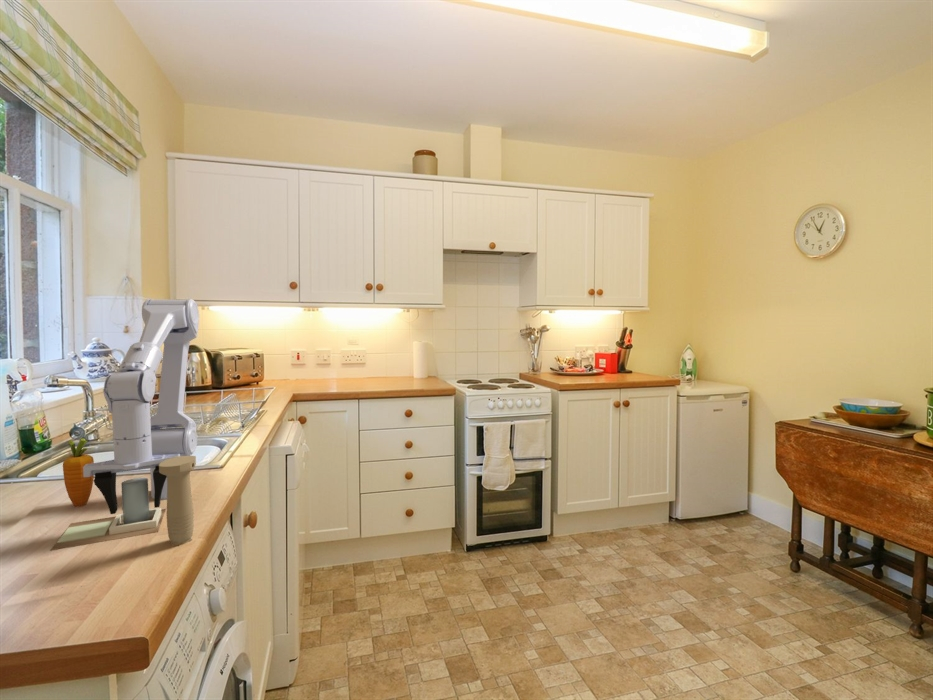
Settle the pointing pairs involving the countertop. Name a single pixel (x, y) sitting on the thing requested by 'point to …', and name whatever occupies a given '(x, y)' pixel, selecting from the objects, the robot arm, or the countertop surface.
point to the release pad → (85, 531)
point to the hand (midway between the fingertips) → (136, 508)
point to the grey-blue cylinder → (135, 500)
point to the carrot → (78, 474)
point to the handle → (179, 498)
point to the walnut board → (106, 536)
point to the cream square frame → (118, 528)
